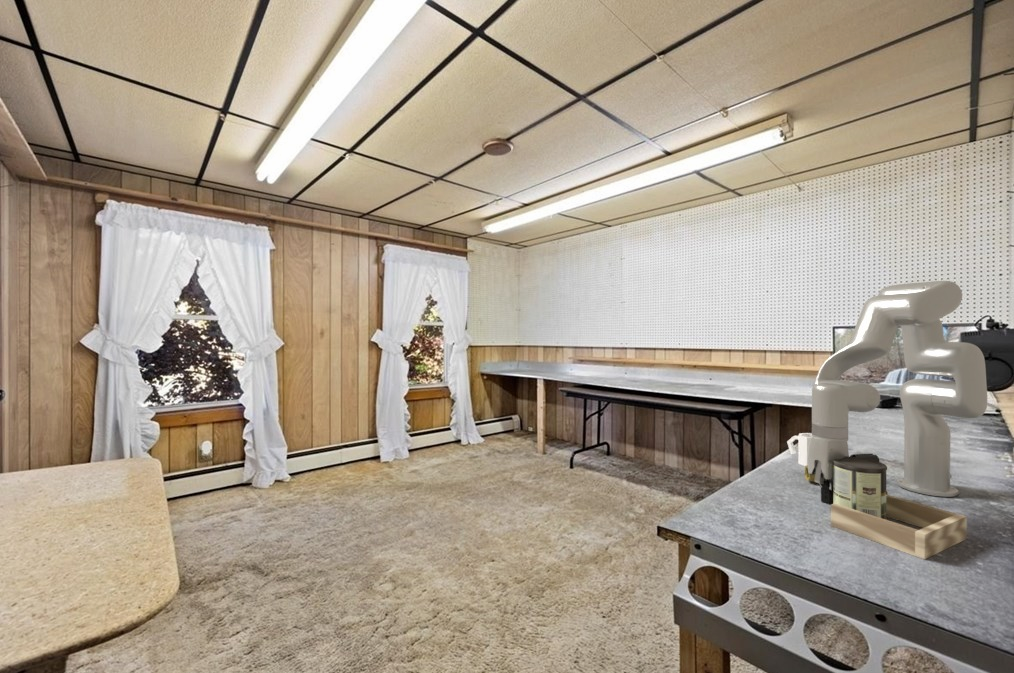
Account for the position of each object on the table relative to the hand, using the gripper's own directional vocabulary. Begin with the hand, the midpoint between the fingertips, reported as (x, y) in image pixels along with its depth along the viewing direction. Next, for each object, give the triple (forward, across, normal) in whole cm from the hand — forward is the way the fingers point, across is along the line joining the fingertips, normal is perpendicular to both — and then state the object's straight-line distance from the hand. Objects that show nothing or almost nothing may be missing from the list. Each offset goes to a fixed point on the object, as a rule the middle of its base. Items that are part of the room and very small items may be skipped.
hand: (829, 503), depth 111 cm
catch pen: (+2, 0, +13) cm, 13 cm away
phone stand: (+2, -17, 0) cm, 17 cm away
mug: (+2, -36, -26) cm, 44 cm away
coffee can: (+2, 0, +6) cm, 7 cm away
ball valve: (+2, -20, -12) cm, 23 cm away
